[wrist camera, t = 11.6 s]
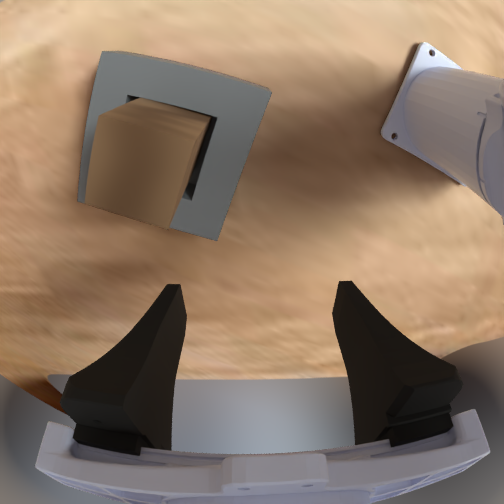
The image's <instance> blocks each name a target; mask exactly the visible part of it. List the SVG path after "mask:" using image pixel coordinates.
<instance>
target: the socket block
mask: <svg viewBox="0 0 504 504" xmlns="http://www.w3.org/2000/svg"><path fill="white" fill-rule="evenodd" d="M271 94H272V92H271V91H270V89H269V88H266V87H264V86H261V85H258V84H255V83H252V82H249V81H245V80H242V79H239V78H236V77H233V76H229V75H226V74H222V73H219V72H215V71H212V70H208V69H204V68H200V67H197V66H193V65H189V64H184V63H180V62H176V61H171V60H167V59H162V58H157V57H152V56H147V55H141V54H136V53H130V52H124V51H102V53H101V57H100V61H99V65H98V69H97V73H96V77H95V82H94V86H93V91H92V95H91V100H90V106H89V111H88V116H87V122H86V128H85V135H84V142H83V149H82V157H81V165H80V175H79V186H78V199H77V201H78V202H81V203H85V194H86V186H87V178H88V171H89V165H90V158H91V152H92V146H93V141H94V136H95V130H96V126H97V121H98V116H99V115H101V114H103V113H105V112H107V111H110V110H112V109H114V108H116V107H119V106H121V105H123V104H126V103H128V102H131V101H133V100H135V99H138V98H140V97H141V98H145V99H150V100H154V101H158V102H162V103H167V104H171V105H175V106H178V107H182V108H186V109H190V110H194V111H197V112H201V113H204V114H208V115H211V116H213V117H212V120H211V123H210V125H209V128H208V131H207V134H206V137H205V140H204V142H203V145H202V148H201V151H200V154H199V157H198V160H197V163H196V166H195V169H194V171H193V173H192V176H191V178H190V180H189V182H188V185H187V187H186V189H185V191H184V194H183V196H182V198H181V201H180V203H179V205H178V208H177V210H176V212H175V215H174V217H173V219H172V222H171V224H170V227H169V228H173V229H176V230H180V231H183V232H187V233H190V234H194V235H197V236H201V237H204V238H208V239H211V240H215V241H217V240H218V237H219V234H220V232H221V229H222V226H223V223H224V220H225V217H226V214H227V212H228V209H229V206H230V203H231V200H232V198H233V195H234V192H235V189H236V187H237V184H238V181H239V178H240V176H241V173H242V170H243V167H244V165H245V162H246V159H247V157H248V154H249V151H250V149H251V146H252V143H253V141H254V138H255V135H256V133H257V130H258V128H259V125H260V122H261V120H262V117H263V115H264V112H265V109H266V107H267V104H268V102H269V99H270V97H271Z"/></svg>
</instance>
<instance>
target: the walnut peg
mask: <svg viewBox="0 0 504 504" xmlns="http://www.w3.org/2000/svg"><path fill="white" fill-rule="evenodd" d="M212 117H213V116H211V115H208V114H204V113H201V112H197V111H194V110H190V109H186V108H182V107H178V106H175V105H171V104H167V103H162V102H158V101H154V100H150V99H145V98H141V97H140V98H138V99H135V100H133V101H131V102H128V103H126V104H123V105H121V106H119V107H116V108H114V109H112V110H110V111H107V112H105V113H103V114H101V115H99V116H98V121H97V126H96V130H95V136H94V141H93V146H92V152H91V158H90V165H89V171H88V178H87V186H86V194H85V203H84V204H87V205H90V206H93V207H96V208H100V209H103V210H106V211H109V212H112V213H115V214H119V215H122V216H125V217H128V218H131V219H135V220H138V221H141V222H144V223H147V224H150V225H154V226H157V227H160V228H163V229H166V230H168V229H169V227H170V224H171V222H172V219H173V217H174V215H175V212H176V210H177V208H178V205H179V203H180V201H181V198H182V196H183V194H184V191H185V189H186V187H187V185H188V182H189V180H190V178H191V176H192V173H193V171H194V169H195V166H196V163H197V160H198V157H199V154H200V151H201V148H202V145H203V142H204V140H205V137H206V134H207V131H208V128H209V125H210V123H211V120H212Z"/></svg>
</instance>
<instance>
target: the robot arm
mask: <svg viewBox="0 0 504 504" xmlns="http://www.w3.org/2000/svg"><path fill="white" fill-rule="evenodd" d="M430 50H431V51H432V56H431V55H430V54H429V51H430ZM393 133H395V134H396V137H395V138H394V139H392V137H391V136H392V134H393ZM381 135H382V137H383V138H384V139H386V140H388V141H389V142H391V143H393V144H395V145H397V146H399V147H401V148H402V149H404V150H406V151H408V152H410V153H411V154H413V155H415V156H417V157H418V158H420V159H422V160H423V161H425V162H427V163H429V164H430V165H432V166H433V167H435V168H437V169H438V170H440V171H442V172H443V173H445V174H446V175H448V176H449V177H451V178H453V179H454V180H456V181H457V182H459V183H460V184H462V185H463V186H465V187H466V186H467V187H468V188H470V189H471V190H472V191H473V192H475V193H476V194H477V195H478V196H479V197H481V198H482V199H483V200H484V201H485V202H487V203H488V204H489V205H490V206H491V207H492V208H494V209H495V210H496V211H497V212H498V213H499V214H500V215H501V216H502V219H503V225H504V79H502V78H498V77H494V76H490V75H485V74H481V73H476V72H471V71H467V70H463V69H462V68H460V67H459V66H458V65H457V64H455V63H454V62H453V61H452V60H450V59H449V58H448V57H446V56H445V55H444V54H442V53H441V52H440V51H438V50H437V49H436V48H434V47H433V46H431V45H430V44H429V43H426V42H422V43H420V44H419V46H418V48H417V50H416V53H415V55H414V58H413V60H412V62H411V65H410V67H409V69H408V72H407V74H406V76H405V79H404V81H403V83H402V85H401V88H400V90H399V92H398V94H397V97H396V99H395V101H394V103H393V105H392V108H391V110H390V112H389V114H388V116H387V118H386V121H385V123H384V125H383V127H382V129H381ZM332 315H333V321H334V327H335V333H336V336H337V339H338V343H339V346H340V350H341V353H342V357H343V360H344V363H345V367H346V370H347V375H348V379H349V386H350V392H351V400H352V408H353V419H354V432H355V445H353V446H347V447H340V448H333V449H324V450H315V451H305V452H293V453H275V454H207V453H191V452H179V451H171V437H172V436H171V433H172V411H173V397H174V385H175V379H176V373H177V369H178V364H179V360H180V355H181V351H182V346H183V342H184V337H185V330H186V320H187V314H186V310H185V305H184V300H183V295H182V290H181V285H180V284H167V285H166V286H165V288H164V289H163V291H162V292H161V293H160V295H159V296H158V298H157V299H156V300H155V302H154V303H153V304H152V306H151V307H150V308H149V310H148V311H147V312H146V313H145V315H144V316H143V317H142V318H141V319H140V321H139V322H138V323H137V324H136V325H135V326H134V328H133V329H132V330H131V331H130V332H129V333H128V334H127V335H126V336H125V337H124V338H123V339H122V340H121V341H120V342H119V343H118V344H117V345H116V346H114V347H113V348H112V349H111V350H110V351H108V352H107V353H106V354H105V355H103V356H102V357H101V358H99V359H98V360H97V361H95V362H94V363H92V364H91V365H89V366H88V367H86V368H84V369H83V370H81V371H79V372H77V373H76V374H74V375H72V376H70V377H69V379H68V381H67V384H66V386H65V389H64V392H63V395H62V398H61V401H60V404H61V407H62V408H63V410H64V411H65V412H66V413H67V414H68V415H69V416H70V417H71V418H72V419H73V420H74V421H75V422H76V423H77V424H76V427H75V429H73V428H71V427H69V426H66V425H62V424H58V423H55V422H51V421H50V422H48V424H47V427H46V430H45V434H44V437H43V440H42V444H41V447H40V450H39V454H38V457H37V461H36V465H35V467H36V468H37V469H38V470H40V471H42V472H43V473H45V474H46V475H48V476H50V477H51V478H53V479H55V480H57V481H58V482H60V483H62V484H64V485H66V486H69V487H72V488H75V489H79V490H82V491H85V492H88V493H91V494H95V495H98V496H101V497H105V498H109V499H112V500H116V501H120V502H123V503H127V504H370V503H373V502H377V501H380V500H384V499H387V498H391V497H394V496H397V495H400V494H403V493H407V492H410V491H412V490H415V489H418V488H421V487H424V486H427V485H429V484H432V483H435V482H437V481H440V480H443V479H445V478H448V477H450V476H453V475H455V474H458V473H460V472H462V471H464V470H465V469H467V468H468V467H470V466H471V465H473V464H475V463H476V462H477V461H479V460H480V459H482V458H483V457H485V456H486V455H487V454H489V453H490V449H489V446H488V443H487V440H486V437H485V434H484V431H483V429H482V426H481V423H480V421H479V418H478V416H477V413H476V410H475V409H472V410H469V411H466V412H463V413H460V414H457V415H455V416H453V417H452V418H451V417H450V414H449V412H451V406H450V404H449V403H450V402H451V401H452V400H453V399H454V398H455V396H456V395H457V394H458V393H459V392H460V390H461V388H462V385H463V382H462V380H461V377H460V375H459V373H458V371H457V369H456V367H455V366H454V365H452V364H450V363H448V362H446V361H444V360H441V359H439V358H438V357H436V356H434V355H432V354H431V353H429V352H427V351H426V350H424V349H423V348H421V347H420V346H418V345H417V344H415V343H414V342H412V341H411V340H410V339H408V338H407V337H406V336H405V335H403V334H402V333H401V332H400V331H399V330H397V329H396V328H395V327H394V326H393V325H392V324H391V323H390V322H389V321H388V320H387V319H385V318H384V317H383V316H382V315H381V314H380V312H379V311H378V310H377V309H376V308H375V307H374V306H373V305H372V304H371V303H370V302H369V300H368V299H367V298H366V297H365V296H364V295H363V293H362V292H361V291H360V290H359V289H358V288H357V287H356V285H355V284H354V283H353V282H352V281H339V284H338V289H337V293H336V298H335V303H334V307H333V312H332Z"/></svg>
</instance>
